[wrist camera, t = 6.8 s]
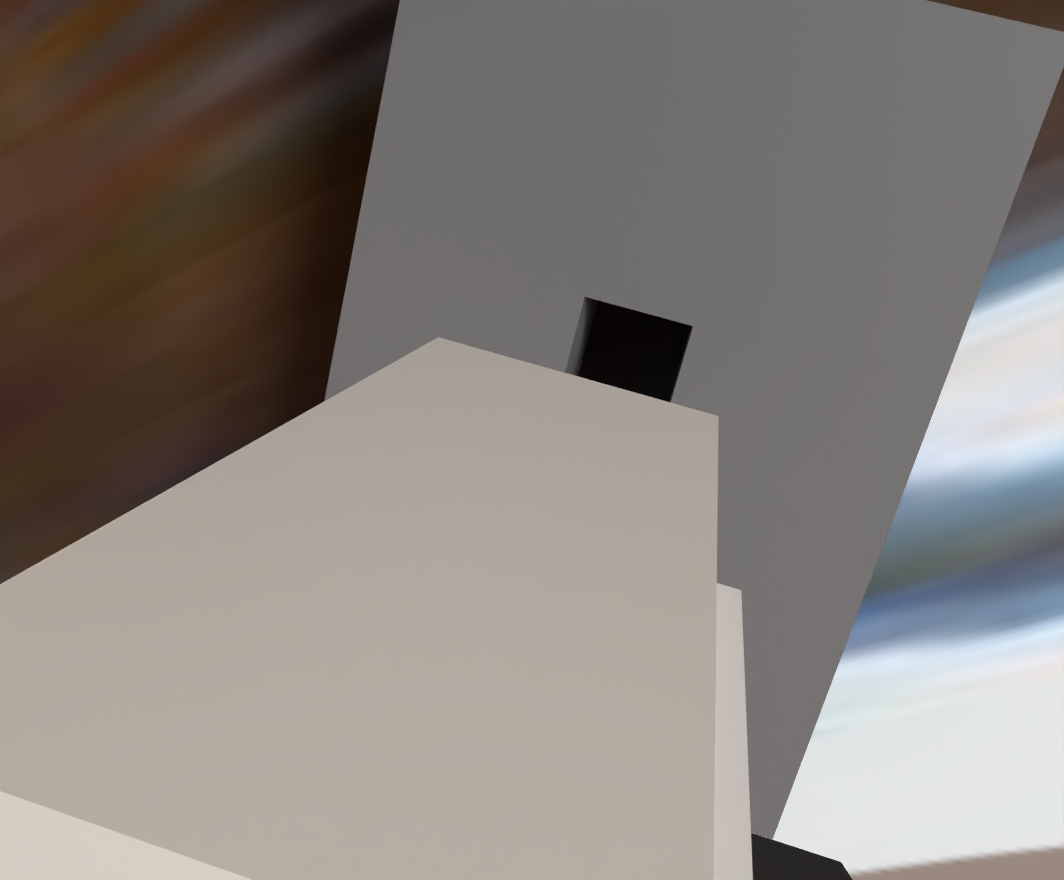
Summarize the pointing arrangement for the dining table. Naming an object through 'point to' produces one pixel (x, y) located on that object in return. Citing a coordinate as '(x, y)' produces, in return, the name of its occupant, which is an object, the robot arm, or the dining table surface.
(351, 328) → the header
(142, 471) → the dining table surface
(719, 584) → the robot arm
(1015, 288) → the dining table surface
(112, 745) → the plug
